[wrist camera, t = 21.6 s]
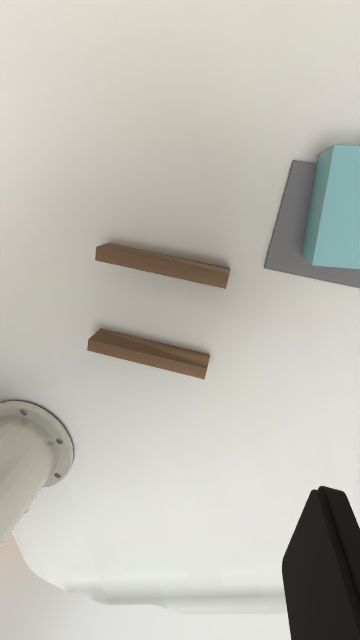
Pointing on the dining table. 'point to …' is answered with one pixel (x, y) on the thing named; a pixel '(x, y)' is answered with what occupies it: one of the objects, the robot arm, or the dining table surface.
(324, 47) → the dining table surface
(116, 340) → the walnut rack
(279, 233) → the charcoal pad
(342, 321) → the dining table surface
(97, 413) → the dining table surface
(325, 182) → the teal block
